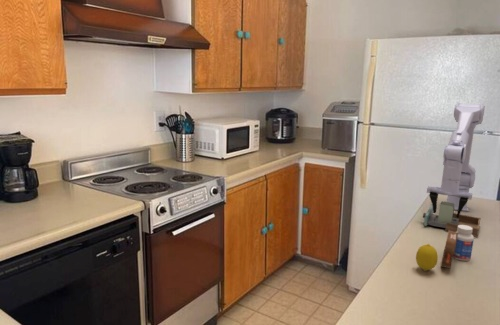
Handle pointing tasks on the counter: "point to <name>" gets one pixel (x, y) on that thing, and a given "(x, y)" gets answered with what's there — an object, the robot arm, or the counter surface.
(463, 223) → the brown shallow rectangular box
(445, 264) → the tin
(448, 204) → the block
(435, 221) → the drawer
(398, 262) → the counter surface
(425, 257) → the lemon
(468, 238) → the pill bottle
